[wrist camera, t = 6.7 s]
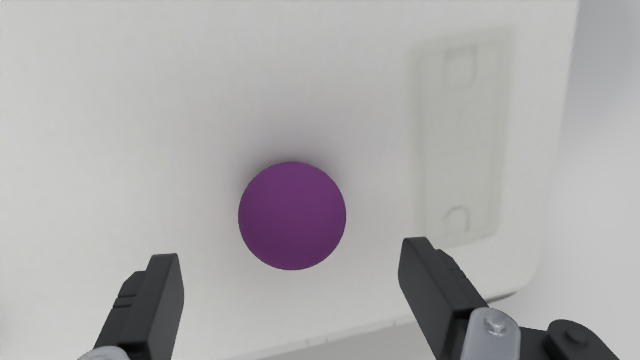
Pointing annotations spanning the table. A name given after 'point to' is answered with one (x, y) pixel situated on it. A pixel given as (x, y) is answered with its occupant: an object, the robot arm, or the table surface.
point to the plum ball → (292, 216)
